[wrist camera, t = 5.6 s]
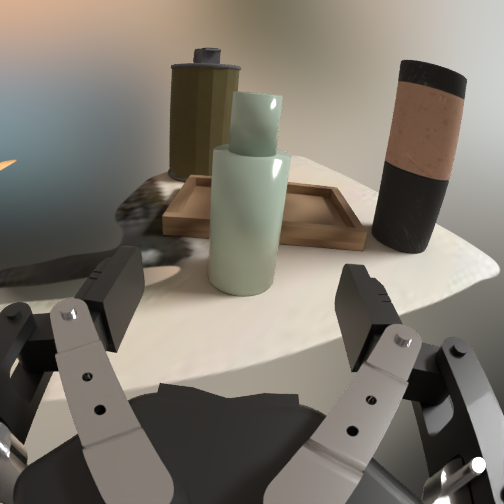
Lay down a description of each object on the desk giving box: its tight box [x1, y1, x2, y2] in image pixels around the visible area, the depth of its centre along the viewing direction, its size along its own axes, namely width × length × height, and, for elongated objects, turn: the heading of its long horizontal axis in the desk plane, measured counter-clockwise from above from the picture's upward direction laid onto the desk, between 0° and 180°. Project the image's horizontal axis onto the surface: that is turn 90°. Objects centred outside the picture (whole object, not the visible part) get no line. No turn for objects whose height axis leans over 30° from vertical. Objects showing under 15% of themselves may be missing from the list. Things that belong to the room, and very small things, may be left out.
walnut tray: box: [162, 175, 367, 251], centre depth 37 cm, size 20×14×2 cm
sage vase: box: [208, 91, 291, 296], centre depth 22 cm, size 5×5×14 cm
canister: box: [168, 48, 241, 182], centre depth 45 cm, size 11×10×20 cm
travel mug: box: [372, 60, 467, 253], centre depth 30 cm, size 8×8×20 cm
